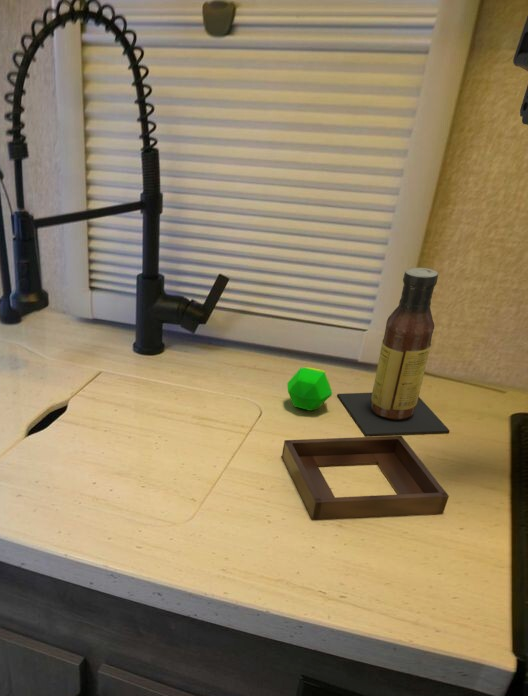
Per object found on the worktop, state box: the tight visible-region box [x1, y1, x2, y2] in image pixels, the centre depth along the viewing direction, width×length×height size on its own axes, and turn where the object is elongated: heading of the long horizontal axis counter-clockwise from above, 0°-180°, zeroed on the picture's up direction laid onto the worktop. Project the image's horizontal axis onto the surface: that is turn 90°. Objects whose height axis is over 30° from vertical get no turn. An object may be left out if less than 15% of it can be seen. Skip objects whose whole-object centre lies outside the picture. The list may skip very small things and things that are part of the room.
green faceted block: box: [286, 366, 333, 411], centre depth 97 cm, size 7×6×9 cm
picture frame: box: [281, 435, 450, 521], centre depth 81 cm, size 16×14×2 cm
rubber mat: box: [336, 392, 451, 437], centre depth 96 cm, size 12×12×1 cm
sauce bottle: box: [371, 267, 439, 420], centre depth 90 cm, size 7×6×20 cm
